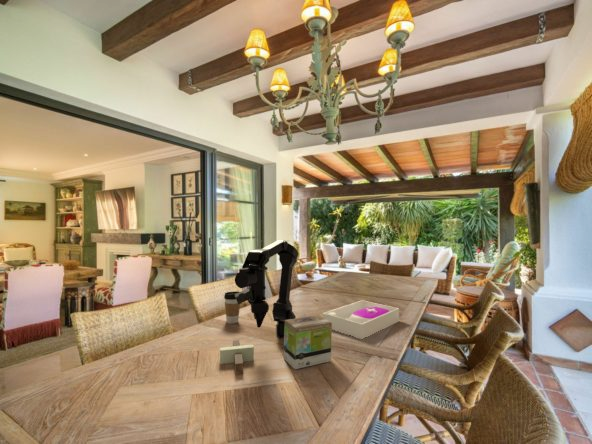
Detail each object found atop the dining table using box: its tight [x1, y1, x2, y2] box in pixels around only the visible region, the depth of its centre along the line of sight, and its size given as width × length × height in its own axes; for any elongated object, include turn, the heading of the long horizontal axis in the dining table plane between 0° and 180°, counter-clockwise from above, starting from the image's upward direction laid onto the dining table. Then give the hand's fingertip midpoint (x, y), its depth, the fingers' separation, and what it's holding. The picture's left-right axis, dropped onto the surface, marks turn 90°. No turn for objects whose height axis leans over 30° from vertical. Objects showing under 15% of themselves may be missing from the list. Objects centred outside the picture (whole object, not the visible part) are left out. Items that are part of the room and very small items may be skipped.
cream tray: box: [322, 299, 400, 340], centre depth 149 cm, size 22×35×7 cm, turn 135°
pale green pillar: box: [219, 344, 255, 365], centre depth 109 cm, size 12×2×5 cm, turn 105°
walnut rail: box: [232, 339, 244, 375], centre depth 109 cm, size 2×20×4 cm, turn 14°
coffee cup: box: [223, 291, 241, 325], centre depth 152 cm, size 8×8×15 cm
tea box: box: [283, 314, 333, 371], centre depth 109 cm, size 15×10×15 cm, turn 117°
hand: (257, 323), depth 115 cm, fingers open, 9 cm apart
